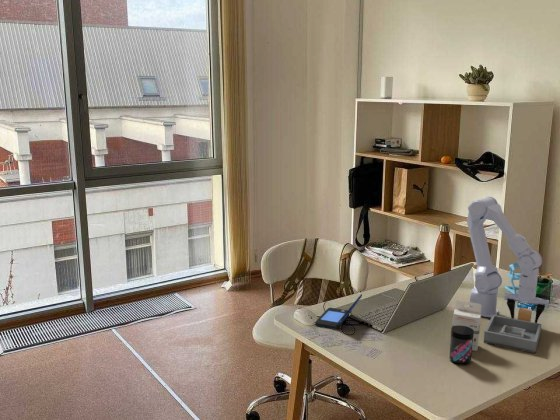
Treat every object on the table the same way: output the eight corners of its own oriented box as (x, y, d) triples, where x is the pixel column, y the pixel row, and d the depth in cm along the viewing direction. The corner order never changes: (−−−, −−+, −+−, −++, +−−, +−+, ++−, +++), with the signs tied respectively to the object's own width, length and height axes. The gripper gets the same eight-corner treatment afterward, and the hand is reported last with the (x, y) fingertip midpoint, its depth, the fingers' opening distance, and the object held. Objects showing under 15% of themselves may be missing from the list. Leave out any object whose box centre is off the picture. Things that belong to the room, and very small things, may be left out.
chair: (508, 294, 232) (511, 267, 229) (504, 287, 240) (507, 260, 237) (528, 296, 231) (531, 268, 228) (523, 288, 239) (526, 261, 236)
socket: (500, 337, 191) (500, 332, 190) (503, 330, 197) (503, 324, 196) (522, 342, 188) (522, 337, 187) (524, 334, 193) (525, 329, 193)
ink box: (449, 346, 186) (453, 304, 183) (452, 340, 191) (455, 299, 187) (477, 351, 183) (480, 309, 180) (478, 345, 187) (482, 303, 184)
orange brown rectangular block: (516, 326, 202) (518, 311, 200) (518, 322, 205) (519, 307, 204) (528, 329, 200) (530, 313, 198) (530, 325, 203) (531, 309, 202)
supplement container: (444, 360, 177) (447, 330, 175) (454, 353, 182) (457, 323, 179) (465, 368, 172) (468, 336, 170) (474, 360, 177) (477, 329, 175)
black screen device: (328, 310, 216) (329, 287, 214) (362, 316, 211) (363, 293, 209) (313, 326, 202) (314, 302, 200) (349, 333, 197) (350, 308, 195)
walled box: (483, 342, 189) (484, 331, 189) (491, 325, 203) (492, 314, 202) (535, 353, 182) (536, 342, 181) (540, 334, 195) (541, 323, 194)
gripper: (504, 285, 199) (500, 321, 202) (549, 293, 192) (545, 330, 195) (507, 279, 205) (503, 314, 208) (551, 286, 198) (546, 322, 201)
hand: (524, 321), depth 202 cm, fingers open, 7 cm apart
